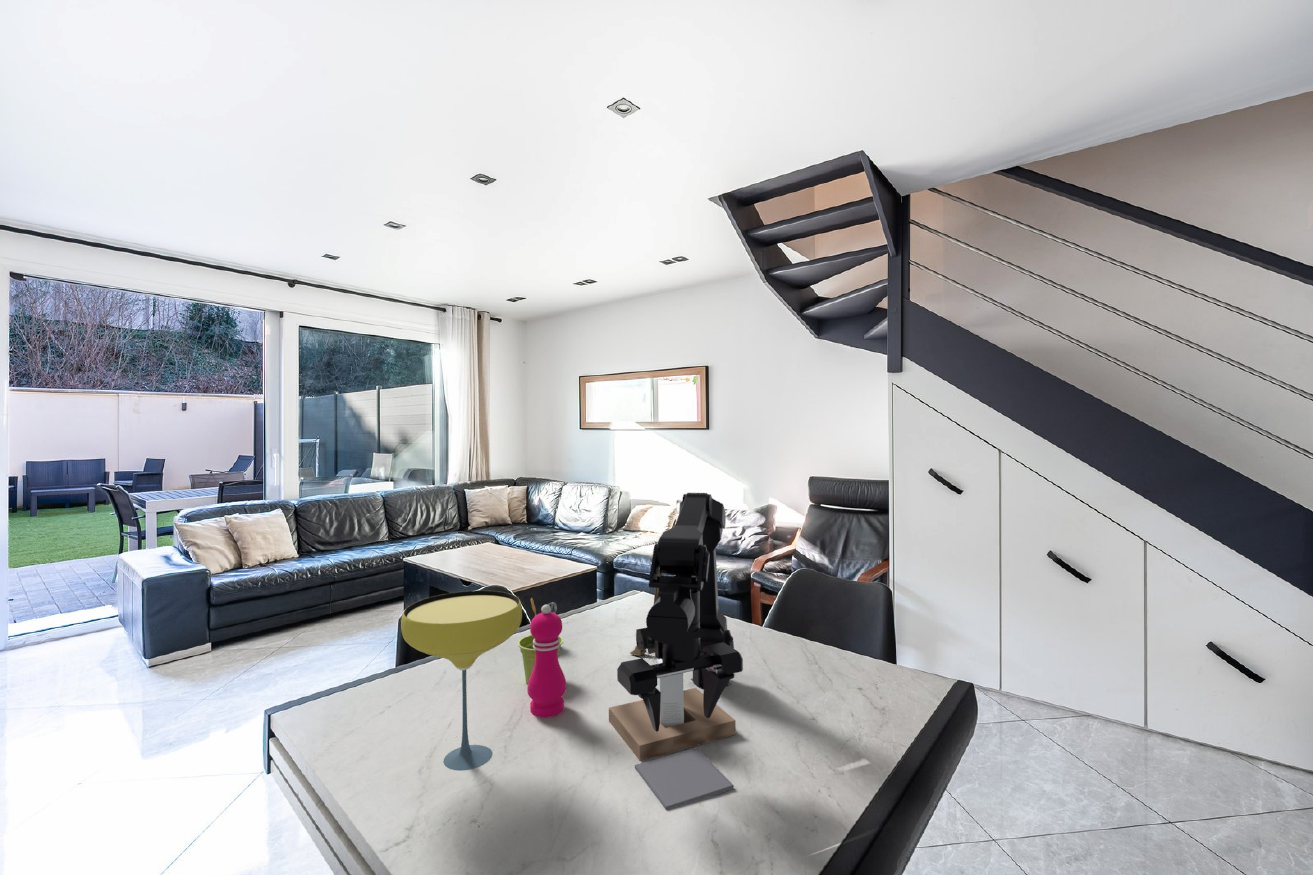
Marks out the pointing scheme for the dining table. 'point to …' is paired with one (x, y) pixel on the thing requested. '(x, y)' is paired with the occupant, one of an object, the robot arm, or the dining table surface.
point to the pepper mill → (546, 666)
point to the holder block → (692, 732)
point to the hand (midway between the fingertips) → (682, 723)
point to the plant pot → (530, 654)
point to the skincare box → (671, 699)
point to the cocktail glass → (462, 644)
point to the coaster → (683, 778)
